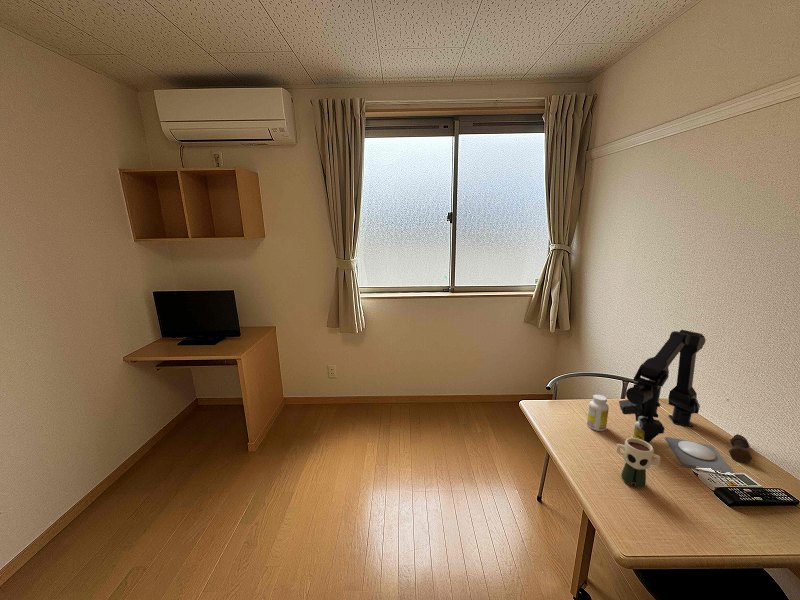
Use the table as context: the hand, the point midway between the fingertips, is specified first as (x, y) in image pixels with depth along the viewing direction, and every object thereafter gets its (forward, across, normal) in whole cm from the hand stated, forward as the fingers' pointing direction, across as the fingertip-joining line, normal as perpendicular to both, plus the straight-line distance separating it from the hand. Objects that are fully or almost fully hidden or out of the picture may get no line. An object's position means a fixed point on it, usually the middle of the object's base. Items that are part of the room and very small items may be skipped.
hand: (642, 436), depth 125 cm
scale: (+2, +2, +16) cm, 16 cm away
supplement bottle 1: (+3, -5, -14) cm, 15 cm away
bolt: (+3, -7, +31) cm, 32 cm away
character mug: (+3, +25, -8) cm, 26 cm away
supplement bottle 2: (+3, 0, 0) cm, 3 cm away
